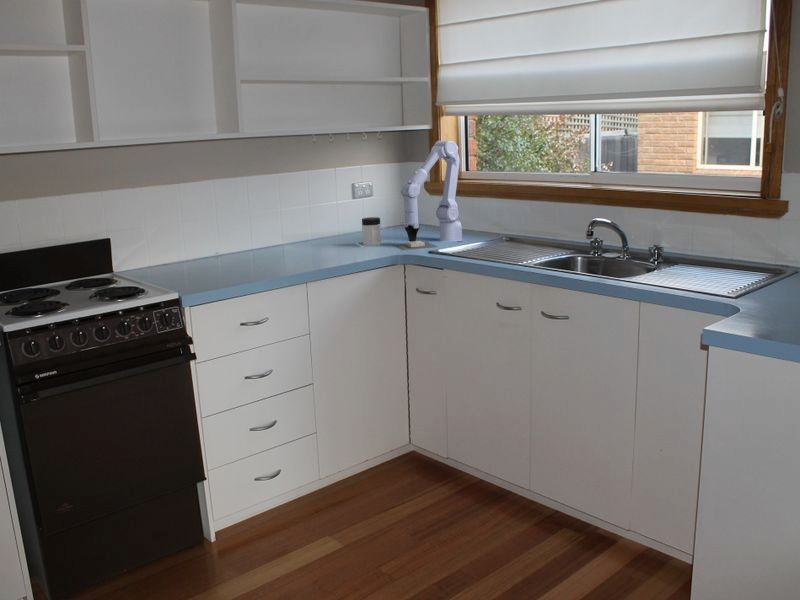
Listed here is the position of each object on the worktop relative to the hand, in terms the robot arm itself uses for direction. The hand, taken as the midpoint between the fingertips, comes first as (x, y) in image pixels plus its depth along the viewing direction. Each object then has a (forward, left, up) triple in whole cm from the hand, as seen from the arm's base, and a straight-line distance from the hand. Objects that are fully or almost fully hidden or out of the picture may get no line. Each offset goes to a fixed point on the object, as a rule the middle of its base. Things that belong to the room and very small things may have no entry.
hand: (412, 243), depth 350 cm
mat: (0, +3, -1) cm, 4 cm away
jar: (+15, -13, -2) cm, 20 cm away
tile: (0, +1, 0) cm, 1 cm away
